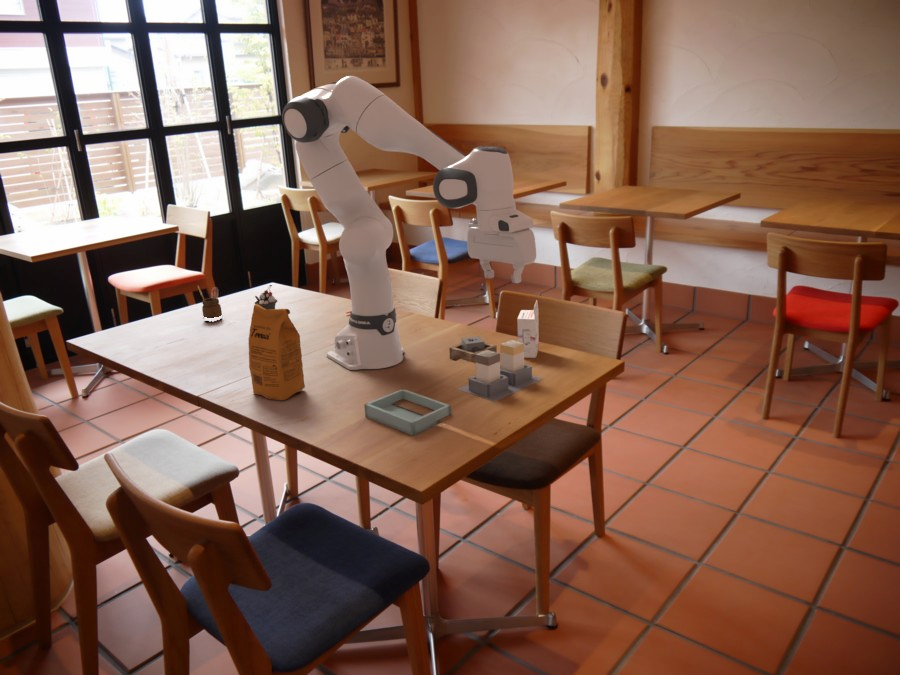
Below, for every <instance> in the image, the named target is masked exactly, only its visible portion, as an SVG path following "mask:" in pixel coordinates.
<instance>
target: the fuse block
mask: <svg viewBox="0 0 900 675" xmlns="http://www.w3.org/2000/svg"><path fill="white" fill-rule="evenodd" d="M467 379H468V384H466V385H464V386H461V387H459V388H457V390H458V391H461V392H464V393H467V394H470V395H474V396H476V397H479V398H482V399H486V400H489V401H492V402H494V403H495V402H499V401H500V400H502V399H505V398H506V397H508V396H509V397H510V396H511V395H512V394H514V393H517V392H519V391H522V390H523V389H525V388H528V387H530V386H531V385H534V384H535V383H538V382H540V381H542V380H544V378H542V377H538V376H536V375H533V366H532V365H531V364H527V363H524V368H523V369H521V370H519V371H517V372H510V371H507V370H503V369H501V363H500V379H499V380H497V381H494V382H492V383H490V384H489V383H485V382H482V381H479V380H476V374H475V375H472V376H470V377H468V378H467Z"/></svg>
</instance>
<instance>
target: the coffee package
mask: <svg viewBox="0 0 900 675" xmlns="http://www.w3.org/2000/svg"><path fill="white" fill-rule="evenodd" d="M290 314H291V311H290V309H289V308H275V309H269V310H267V309H265V308H263V307H261V306H260V305H258V304H255V303H254V305H253V311H252V314H251V320H250V321H251V322H250V326H249V327H250V328H249V334H248V335H249V336H248V368H249V372H250V376H251V385H252V391H253V392H252V394H253V393H254V394H253V395H255V394H257V396H263V397H264V398H265V399H267V398H268V399H267V400H271V399H275V401H285V400H288V399H289V398H290V397H292V396H294V394H296V393H299V392H301V391H302V390H304V389H305V388H306V386H305V379H304V378H305V377H304V369H303V366H304V364H303V358H302V355H303V354H302V347H301V336H300V333H299V332H298V330H297V328H296V327H295V325H294V323H293V321H292V320H291V318H290V316H289V315H290Z"/></svg>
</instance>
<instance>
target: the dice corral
mask: <svg viewBox="0 0 900 675" xmlns="http://www.w3.org/2000/svg"><path fill="white" fill-rule="evenodd" d="M484 346H485V349H482V350H480V351H477V352H475V353H473V352H469V351H465V350H462V342H461V343H459V344H455V345H453V346H450V347H449V359H452V360H455V361H459V360H461V359H463V360H466V361H470V362H473V363H476V362H475V354H477V353H480V352H482V351H485V350H490V351H494V352H497V353H498V350H497V346H498V345H495V344H491V343H488V342H484Z"/></svg>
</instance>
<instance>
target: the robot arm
mask: <svg viewBox="0 0 900 675" xmlns="http://www.w3.org/2000/svg"><path fill="white" fill-rule="evenodd" d="M281 118H282V124H283V127H284V129H285V132H287V134H288V135H289V137H290V138H292V139H293V140H294V141H295V149H296V153H297V155H298V159H299V161H300V163H301V166H302V168H303V170H304V172H305V174H306V176H307V178H308V180H309V181H310V183H311V185H312V187H313V189H314V190H315V192H316V194H317V196H318V198H319V199H320V201H321V202H322V204H323V206H324V207H325V209H326V210H327V211H329V213H331V215H333V217H335V219H336V220H337V221H338V222H339V224H341V226H342V227H343V231H342V232H341V235H340V237H339V242H338V248H339V253H340V255H341V256H342V259H343V263H344V267H345V270H346V275H347V278H348V282H349V289H350V291H349V292H350V301H351V302H350V303H351V311H347V312H346V314H347V315H346V317H349V319H348V323H347V325H346V326H344V327H343V328H342V329H341V330H340V331H338V333H337V334H336V335H335V338H334V348H332V349H330V350H329V351H327V353H326V357H327V358H328V359H330V360H332V361H333V362H335V363H337V364H339V365H340V366H342V367H343V368H345V369H348V370H350V371H359V370H377V369H378V370H379V369H385V368H390V367H393V366H396V365H399V363H401V362H403V361H404V355H403V354H404V352H405V350H404V348H403V347H402V344H401V339H400V332H399V327H398V325H397V324H396V322H397V311H396V308H395V307H394V294H393V293H394V292H393V280H392V278H391V275H390V271H389V266H388V262H387V255H386V254H387V249H388V248H390V246H391V244H392V242H393V240H394V228H393V223H392V222H391V220H390V219H389V218H388V217H387V216H385V214H384V212H383V211H382V209H381V208H380V207H379V205H378V204H377V203H376V202H375V200H374V199H373V197H371V195H370V193H369V192H368V191H367V189H366V188H365V187H364V185H363V183H362V181H361V180H360V177H359V176H358V175H357V173H356V171H355V169H354V167H353V165H352V163H351V162H350V160H349V158H348V157H347V155H346V154H345V151H344V150H343V149H342V146H341V143H340V134H346V133H348V132H349V130H350V129H351V131H353V132H354V133H355V134H356V135H358V136H359V138H361V139H362V140H364V141H365V142H366V143H368V144H369V145H371V146H372V147H374V148H376V149H378V150H381V151H385V152H397V153H405V154H406V153H407V154H412V155H415V156H417V157H420V158H422V159H424V160H425V161H426V162H427V163H430V165H432V166H433V167H435V168H436V169H437V170H438V172H437V173H436V174H435V176H434V178H433V183H432V191H433V195H434V197H435V198H436V200H437V202H438V203H439V204H440V205H441V206H442V207H443V208H444V207H445V208H447V209H462V208H464V207H467V206H469V205H474V206H475V211H476V217H473V218H471V220H470V221H469V222H468V230H467V233H466V234H467V235H466V236H467V239H466V242H467V253H468V256H469V257H470V258H471V259H475V260H476V259H477V260H479V264H480V266H481V269H482V270H483V271H484V272H483V273H484V275H483V276H484V278H485V279H494V277H495V269H492V267H491V264H490V263H491V262H496V263H497V262H498V263H504V264H511V265H512V268H513V269H514V270H513V274H511V275H510V279H511V281H510V282H511V283H513V284H519V283H522V274H523V272H524V270H525V266H526V265H531V264H533V263H534V262H535V261H536V259H537V246H536V238H535V237H536V236H535V234H534V232H533V230H532V229H531V228H533V227H534V219H533V218H532V217H531V216H528V215H527V214H525V213H523V212H522V211H520V210H519V209H517V206H516V200H515V197H514V186H515V182H514V173H513V166H512V161H511V158H510V154H509V152H508V151H507V150H506V149H505V148H503V147H500V146H494V145H480V146H477V147H474V148H473V149H472V150H471V152H470V153H468V155H467V154H465V153H463V152H462V151H461V150H458V149H457V148H456V147H454V145H452V144H450V143H449V142H447V141H446V140H445V139H443V138H442V137H441V136H439V135H438V134H436V133H435V132H434V131H433V130H431V129H430V128H428V127H426V126H425V125H424V124H422V123H421V122H420V121H418V119H415V118H414V117H413V116H412V115H410V114H409V113H408V112H407V111H406V110H404V109H403V108H402V107H401V106H399V105H398V103H396V102H395V101H394V100H393V99H391V98H390V97H389V96H388V95H386V94H385V93H384V92H382V91H381V90H379V89H378V88H376V86H373V85H372V84H371V83H369V82H367V81H366V80H364V79H362V78H360V77H359V76H356V75H355V76H354V75H347V76H344V77H342V78H341V79H340V80H338V81H333V82H331V83H329V84H324V85H321V86H320V85H319V86H318V87H315V88H312V89H311V90H309V91H308V92H305V93H303V94H301V95H300V96H295V97H294V98H292V99H291V100H290V101H289V102H287V103H286V104H285V106H284V107H283V109H282V113H281Z"/></svg>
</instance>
